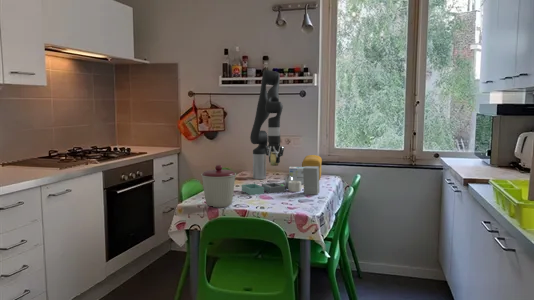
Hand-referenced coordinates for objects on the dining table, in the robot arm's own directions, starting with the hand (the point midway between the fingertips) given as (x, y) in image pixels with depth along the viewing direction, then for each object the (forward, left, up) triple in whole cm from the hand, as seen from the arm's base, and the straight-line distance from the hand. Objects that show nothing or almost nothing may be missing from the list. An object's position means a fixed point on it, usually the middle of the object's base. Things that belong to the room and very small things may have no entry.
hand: (274, 162), depth 257 cm
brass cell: (0, 0, -1) cm, 1 cm away
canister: (+24, -43, -17) cm, 52 cm away
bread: (-28, +43, -17) cm, 54 cm away
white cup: (+8, +10, -16) cm, 21 cm away
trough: (+2, -15, -16) cm, 22 cm away
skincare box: (+19, +15, -17) cm, 29 cm away
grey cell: (0, +10, -16) cm, 19 cm away
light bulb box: (-11, +22, -17) cm, 30 cm away
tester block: (+3, -2, -16) cm, 17 cm away
